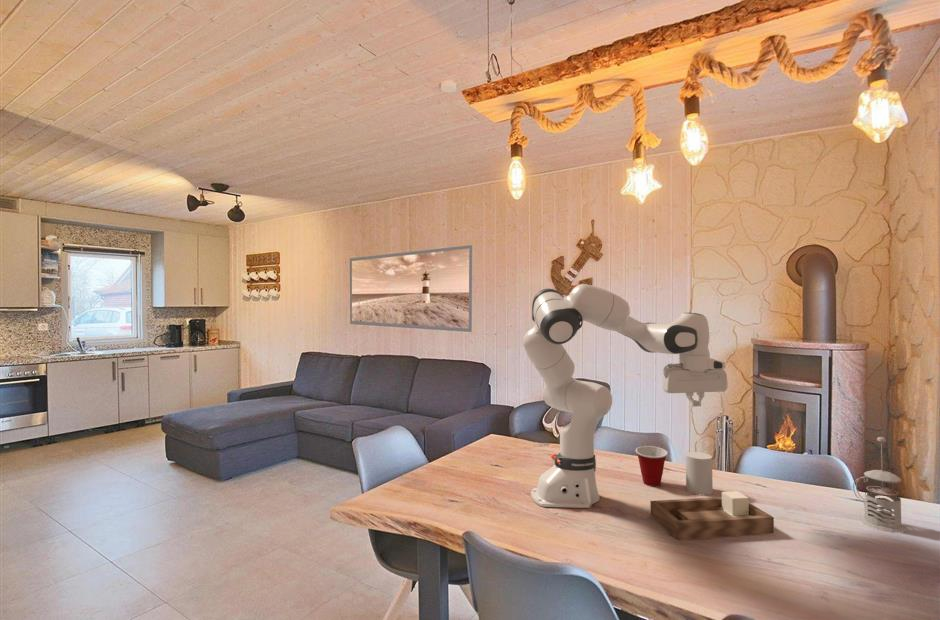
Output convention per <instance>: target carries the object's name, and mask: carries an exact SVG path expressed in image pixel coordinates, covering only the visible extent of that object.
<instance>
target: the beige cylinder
mask: <svg viewBox="0 0 940 620" xmlns="http://www.w3.org/2000/svg"><path fill="white" fill-rule="evenodd" d="M713 483H714V482H713V456H712V455H711V454H709V453H706V452H699V451H689V452H685V487H686V488H685V489H686V490H687V491H688V492H689V493H691V492H692V494H694V493H695V494H694V495H699V494H701V495H700V496H706V494H710V495H712V494H713V493H714V492H713ZM711 493H712V494H711ZM703 494H704V495H703Z"/></svg>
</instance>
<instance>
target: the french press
mask: <svg viewBox="0 0 940 620" xmlns="http://www.w3.org/2000/svg"><path fill="white" fill-rule="evenodd" d="M876 441H878V442H880V454H881V455H880V458H881V462H880V463H881V465H880V466H881V469H871V470H867V471H865V472H863V475H864V476H861V477H858V478H856V479H855V480H854V482H853V485H852V488H853V493H854V495H855V496H856V498H857V499H859V501H861V502H862V503H863V505H864V516H863V517H861V519H860V521H861V523H862V524H863V525H866V526H867V525H868V526H867V527H870V528H872V527H873V529H875V528H877V529H876V530H878V529H881V530H880V531H882V530H883V532H887V531H890V532H889V533H895V532H901V533H903V532H902V531H905V530H906V529H907V528H906V527H905V526H904V524H902V499H901V497H900V496H899V495H900V493H899V492H898V491H897V490H895V489H891V488H888V487H884V483H889V484H898V483H900V482H901V481H902V478H901V477H899V476H898V475H896V474H894V473H892V472H890V471H886V470H883V469H884V468H883V443H884V442H886V441H887V440H886V438H885V437H883V436H878V437H877V438H876ZM860 479H863V482H864V483H867V482H869V479H871V480H874V481H878V482H881V486H877V485H869V486H866V487H865V489H866V490H867V491H866V492H864V497H862V495H860V493H859V491H858V482H859V481H860ZM855 489H856V490H855ZM878 496H879V497H878ZM880 496H881V497H880ZM882 496H883V497H882ZM859 497H860V498H859ZM885 497H886V498H885ZM888 498H889V499H888ZM890 499H891V500H890ZM906 531H907V530H906ZM906 531H905V532H906Z"/></svg>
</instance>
